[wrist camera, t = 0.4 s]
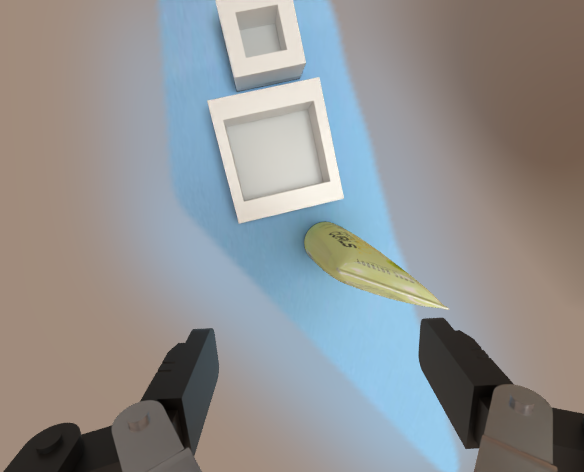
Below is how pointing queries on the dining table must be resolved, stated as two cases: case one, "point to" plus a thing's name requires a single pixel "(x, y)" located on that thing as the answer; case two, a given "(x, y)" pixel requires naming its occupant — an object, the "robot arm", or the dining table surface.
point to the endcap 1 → (261, 41)
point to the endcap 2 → (276, 149)
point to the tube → (363, 265)
